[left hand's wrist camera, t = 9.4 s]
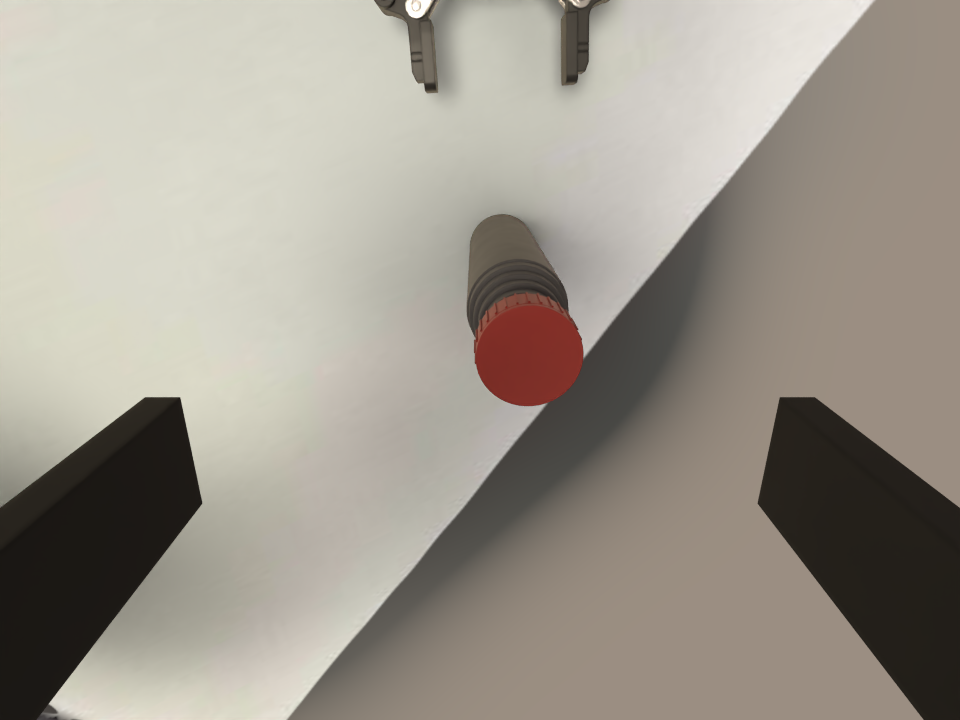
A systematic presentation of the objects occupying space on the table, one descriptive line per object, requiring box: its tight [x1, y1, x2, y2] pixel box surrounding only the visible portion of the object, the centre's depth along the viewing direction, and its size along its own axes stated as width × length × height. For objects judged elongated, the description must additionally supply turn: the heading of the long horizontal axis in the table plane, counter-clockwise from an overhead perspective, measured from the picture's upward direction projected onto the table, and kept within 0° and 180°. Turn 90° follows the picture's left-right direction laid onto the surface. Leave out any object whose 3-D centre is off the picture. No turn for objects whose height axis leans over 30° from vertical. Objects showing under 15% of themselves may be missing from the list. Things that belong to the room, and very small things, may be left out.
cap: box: [474, 292, 583, 406], centre depth 22 cm, size 4×4×2 cm
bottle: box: [467, 214, 569, 338], centre depth 33 cm, size 5×5×24 cm
